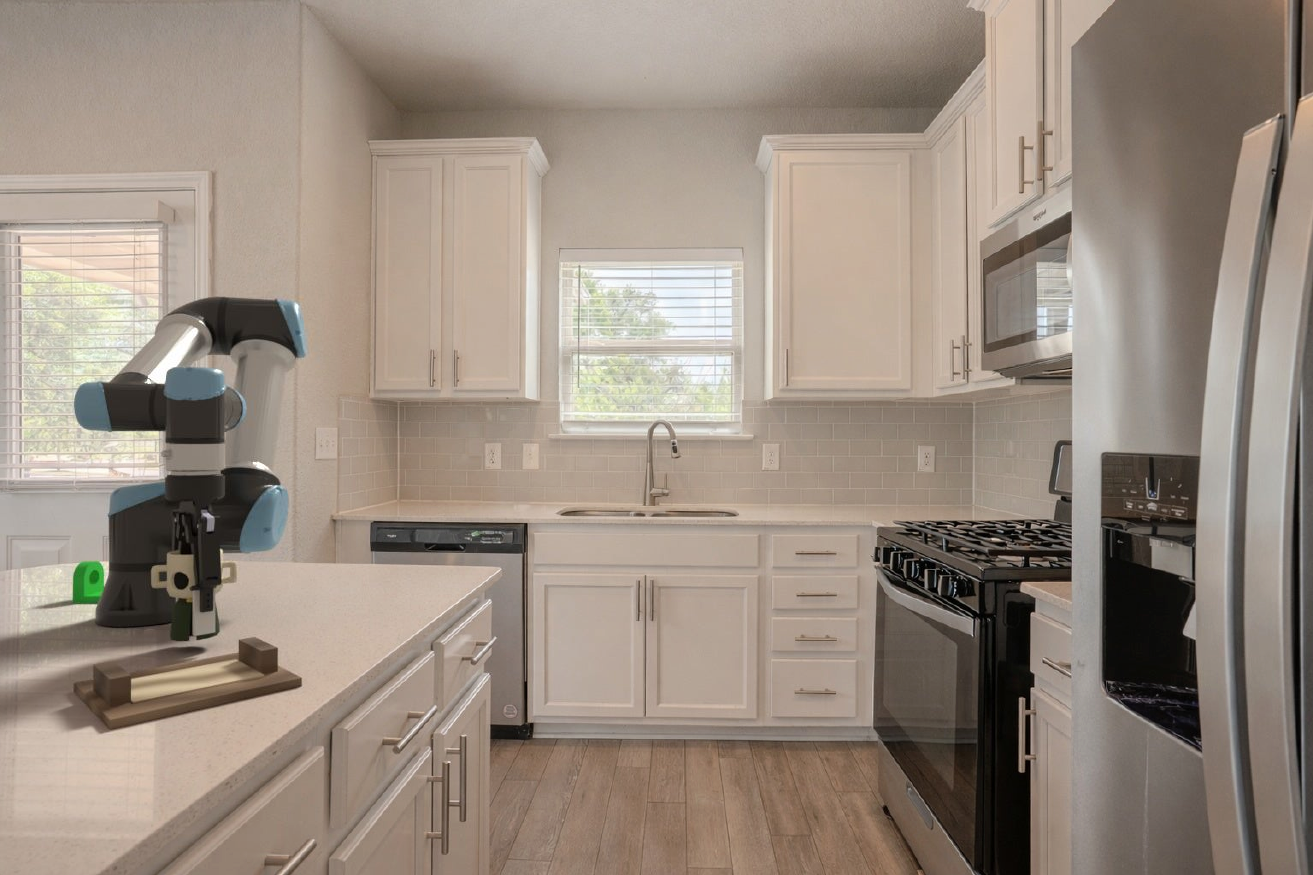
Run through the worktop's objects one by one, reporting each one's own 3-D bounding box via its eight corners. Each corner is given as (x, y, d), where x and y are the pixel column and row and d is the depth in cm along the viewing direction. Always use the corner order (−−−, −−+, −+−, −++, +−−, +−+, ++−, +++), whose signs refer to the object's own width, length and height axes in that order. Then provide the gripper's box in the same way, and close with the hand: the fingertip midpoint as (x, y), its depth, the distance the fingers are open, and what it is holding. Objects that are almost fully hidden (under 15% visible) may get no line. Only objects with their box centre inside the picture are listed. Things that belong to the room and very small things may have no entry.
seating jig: (73, 690, 94) (73, 658, 94) (248, 657, 108) (248, 629, 108) (110, 729, 82) (110, 691, 82) (301, 685, 96) (302, 653, 96)
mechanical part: (106, 606, 142) (106, 563, 142) (72, 607, 141) (73, 563, 141) (146, 593, 154) (146, 554, 154) (115, 594, 153) (115, 554, 153)
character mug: (147, 650, 107) (147, 557, 107) (155, 637, 114) (155, 549, 113) (235, 641, 112) (236, 552, 112) (238, 629, 118) (238, 545, 118)
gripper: (146, 470, 117) (146, 621, 117) (188, 477, 103) (188, 647, 103) (201, 469, 122) (201, 612, 122) (248, 475, 108) (247, 636, 109)
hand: (195, 628), depth 113 cm, fingers closed on character mug, 7 cm apart
